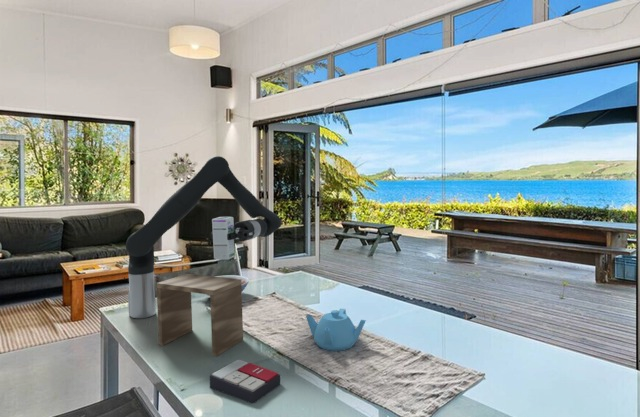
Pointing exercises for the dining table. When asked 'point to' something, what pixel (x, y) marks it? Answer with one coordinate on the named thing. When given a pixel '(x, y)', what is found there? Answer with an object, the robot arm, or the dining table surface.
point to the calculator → (244, 381)
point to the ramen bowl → (243, 279)
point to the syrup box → (223, 238)
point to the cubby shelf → (179, 310)
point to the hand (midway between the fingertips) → (219, 236)
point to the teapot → (335, 330)
